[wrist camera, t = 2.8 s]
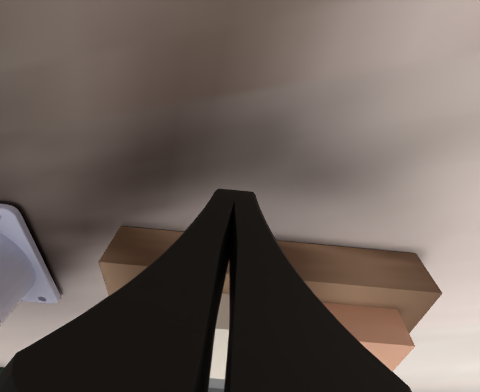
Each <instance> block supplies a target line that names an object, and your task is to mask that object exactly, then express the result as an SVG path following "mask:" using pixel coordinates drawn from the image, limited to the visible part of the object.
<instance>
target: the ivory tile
mask: <svg viewBox="0 0 480 392" xmlns="http://www.w3.org/2000/svg"><path fill="white" fill-rule="evenodd" d="M228 336H229V294H224V293H222V297H221V302H220V307H219V311H218V316H217V322H216V328H215V337H214V345H213V354H212V362H211V371H210V378H215V379H225V372H226V360H227V348H228Z"/></svg>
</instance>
